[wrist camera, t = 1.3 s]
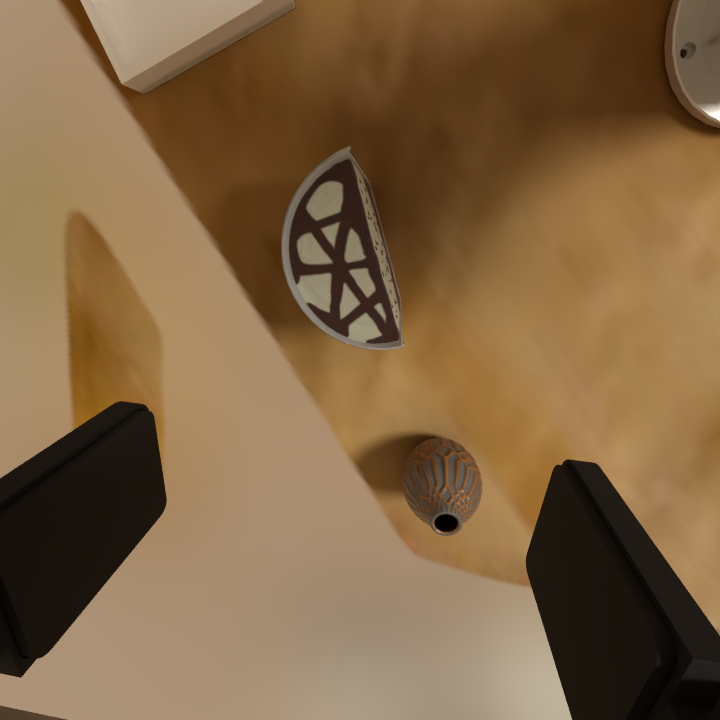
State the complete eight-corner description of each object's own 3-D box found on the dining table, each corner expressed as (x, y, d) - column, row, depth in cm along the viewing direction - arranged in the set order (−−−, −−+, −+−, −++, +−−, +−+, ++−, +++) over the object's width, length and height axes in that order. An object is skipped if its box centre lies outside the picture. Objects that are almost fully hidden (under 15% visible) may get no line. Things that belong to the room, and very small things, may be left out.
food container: (290, 187, 31) (240, 177, 21) (365, 161, 29) (345, 139, 20) (338, 332, 35) (312, 376, 25) (405, 314, 33) (404, 354, 24)
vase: (388, 448, 38) (383, 512, 30) (449, 414, 36) (460, 472, 28) (428, 496, 40) (433, 569, 32) (488, 466, 38) (509, 536, 30)
